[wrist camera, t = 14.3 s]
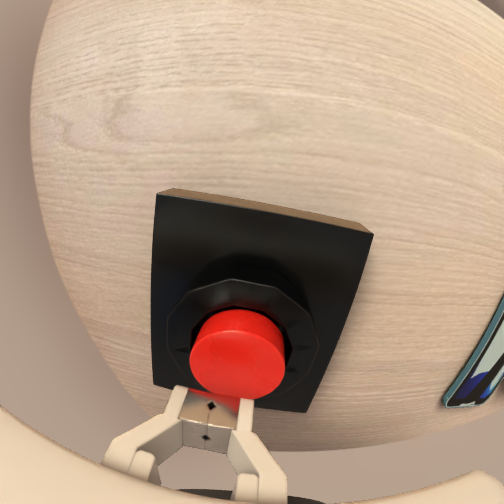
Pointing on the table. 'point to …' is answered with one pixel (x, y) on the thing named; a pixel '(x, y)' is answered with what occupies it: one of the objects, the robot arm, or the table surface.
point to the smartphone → (481, 368)
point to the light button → (239, 354)
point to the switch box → (252, 283)
